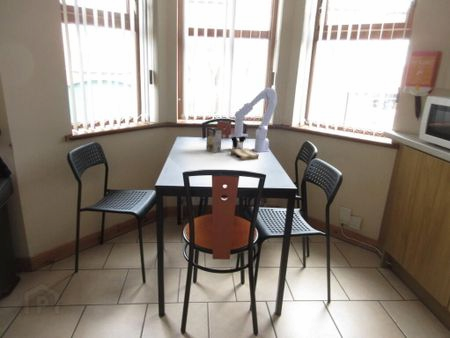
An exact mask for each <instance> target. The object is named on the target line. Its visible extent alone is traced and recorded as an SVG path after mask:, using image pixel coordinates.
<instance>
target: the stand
mask: <svg viewBox="0 0 450 338" xmlns="http://www.w3.org/2000/svg"><path fill="white" fill-rule="evenodd" d="M230 155H231V156H235V155H237V156H239V157H240V160H241V161H249V160H250V161H251V160H259V156H260V155H259V154H258V152H257V153H256V151H252V150H250V149H248V148H243V149H232V148H231V149H230Z"/></svg>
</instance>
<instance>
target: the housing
mask: <svg viewBox="0 0 450 338" xmlns="http://www.w3.org/2000/svg"><path fill="white" fill-rule="evenodd" d="M231 147H232V148H231V150H232V149H244V142H243V143H242V142H240V141H239V140H238V139H237V142H236V148H234V146H233V142H232V145H231Z"/></svg>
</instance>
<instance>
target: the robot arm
mask: <svg viewBox="0 0 450 338" xmlns="http://www.w3.org/2000/svg"><path fill="white" fill-rule="evenodd" d="M277 95H278V94H277V92H276V90H275V89H274V88H271V87H265V88H264V89H263V90H262V91H260V92H259V93H258V94H257V95H256V96H255V97H254V98H253V99H252V100H251V101H250V102H246V103H244V104H243V106H242V107H241V108H239V109H238V111H236V112H235V114H234V117H235V122H234V133H231V134H228V138H229V139H231V141H232V143H233V146H234V148H236V142H237V140H238V139H239V140H238V141H240V142H242V143H243V144H244V142H245V140H246V138H248V137H249V134H247V133H243V131H244V119H245V116H247V115H248V114H249V113H250V112H251V111H253V108H254V107H255V105H257V104H258V103H259V102H261V101H262V100H263V99H264V100H265V99H267V101H268V105H267V107H266V110H265V112H264V115H263V118H262V120H261V123H260V124H259V125H258V128H257V129H256V130H255V135H256V136H255V140H254V148H251V149H252V150H253V151H254V152H257V153H261V152H263V153H264V152H269V146H270V140H269V139H268V136H267V134H268V133H267V132H268V130H269V128H268V126H269V125H270V121H271V119H272V117H273V114H274V112H275V109H276V107H277V105H278V98H277ZM252 150H251V151H252Z"/></svg>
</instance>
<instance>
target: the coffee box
mask: <svg viewBox="0 0 450 338" xmlns="http://www.w3.org/2000/svg"><path fill="white" fill-rule="evenodd" d="M222 133H223V128H219V127H215V126H209V127H206V144H205V146H206V150H205V151H208V152H211V153H212V154H215V153H221V152H222V151H221V150H222V135H223V134H222Z"/></svg>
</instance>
